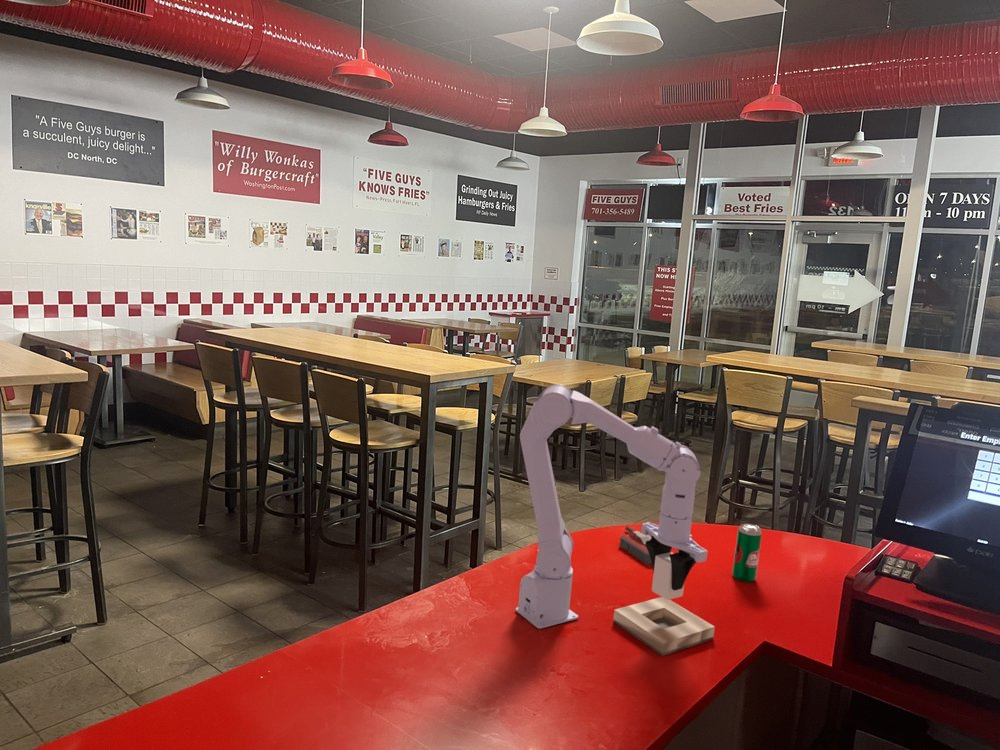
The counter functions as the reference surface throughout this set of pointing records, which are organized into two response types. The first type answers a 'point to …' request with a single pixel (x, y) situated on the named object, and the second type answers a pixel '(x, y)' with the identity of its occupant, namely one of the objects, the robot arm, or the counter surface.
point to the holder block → (663, 625)
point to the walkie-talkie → (636, 545)
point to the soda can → (747, 552)
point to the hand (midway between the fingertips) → (668, 583)
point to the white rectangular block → (664, 578)
